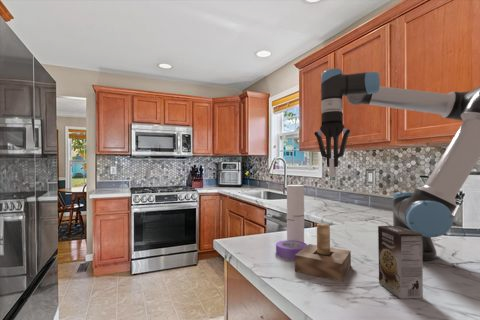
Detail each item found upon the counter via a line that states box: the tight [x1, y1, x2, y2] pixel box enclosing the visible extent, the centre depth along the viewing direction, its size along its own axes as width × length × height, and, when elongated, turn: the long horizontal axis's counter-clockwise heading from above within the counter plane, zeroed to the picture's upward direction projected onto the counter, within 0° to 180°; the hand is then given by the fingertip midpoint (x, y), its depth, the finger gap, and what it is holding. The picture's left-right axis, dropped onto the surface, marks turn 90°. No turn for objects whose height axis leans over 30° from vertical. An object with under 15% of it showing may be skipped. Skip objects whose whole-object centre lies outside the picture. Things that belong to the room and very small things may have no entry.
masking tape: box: [275, 239, 308, 260], centre depth 98 cm, size 12×12×4 cm
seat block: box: [294, 243, 352, 283], centre depth 84 cm, size 14×14×5 cm
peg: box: [316, 223, 331, 257], centre depth 84 cm, size 4×4×14 cm
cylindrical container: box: [286, 184, 305, 243], centre depth 110 cm, size 7×7×25 cm
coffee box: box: [377, 225, 424, 300], centre depth 69 cm, size 9×6×16 cm
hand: (332, 176), depth 96 cm, fingers closed
